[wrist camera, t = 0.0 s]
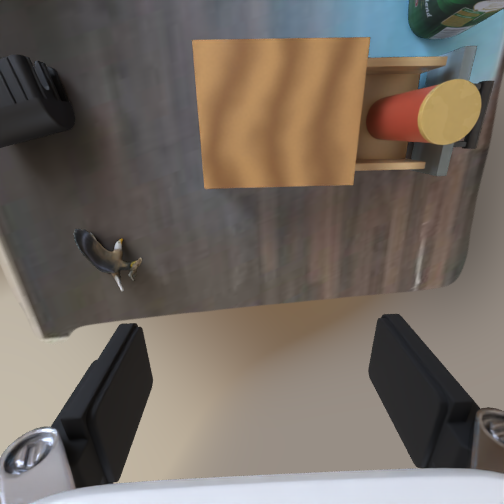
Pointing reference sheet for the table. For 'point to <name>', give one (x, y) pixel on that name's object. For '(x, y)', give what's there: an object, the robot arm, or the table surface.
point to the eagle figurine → (105, 256)
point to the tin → (427, 114)
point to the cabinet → (279, 110)
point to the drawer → (404, 80)
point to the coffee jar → (448, 16)
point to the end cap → (31, 101)
